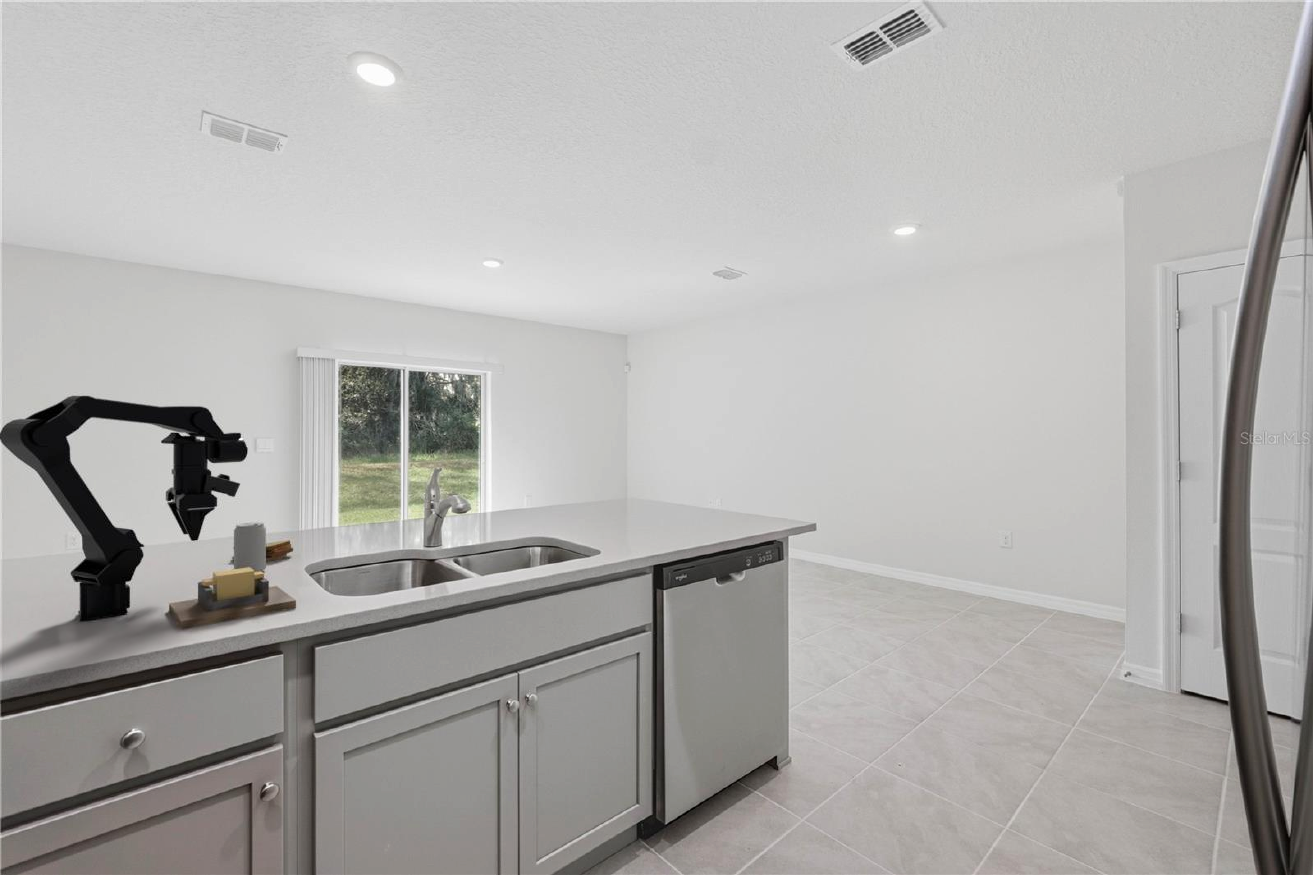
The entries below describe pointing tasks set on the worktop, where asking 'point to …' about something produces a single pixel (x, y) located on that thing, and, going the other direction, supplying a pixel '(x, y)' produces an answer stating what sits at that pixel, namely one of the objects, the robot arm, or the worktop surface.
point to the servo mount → (229, 605)
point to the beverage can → (250, 546)
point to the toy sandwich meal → (277, 550)
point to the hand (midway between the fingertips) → (190, 537)
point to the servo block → (233, 583)
